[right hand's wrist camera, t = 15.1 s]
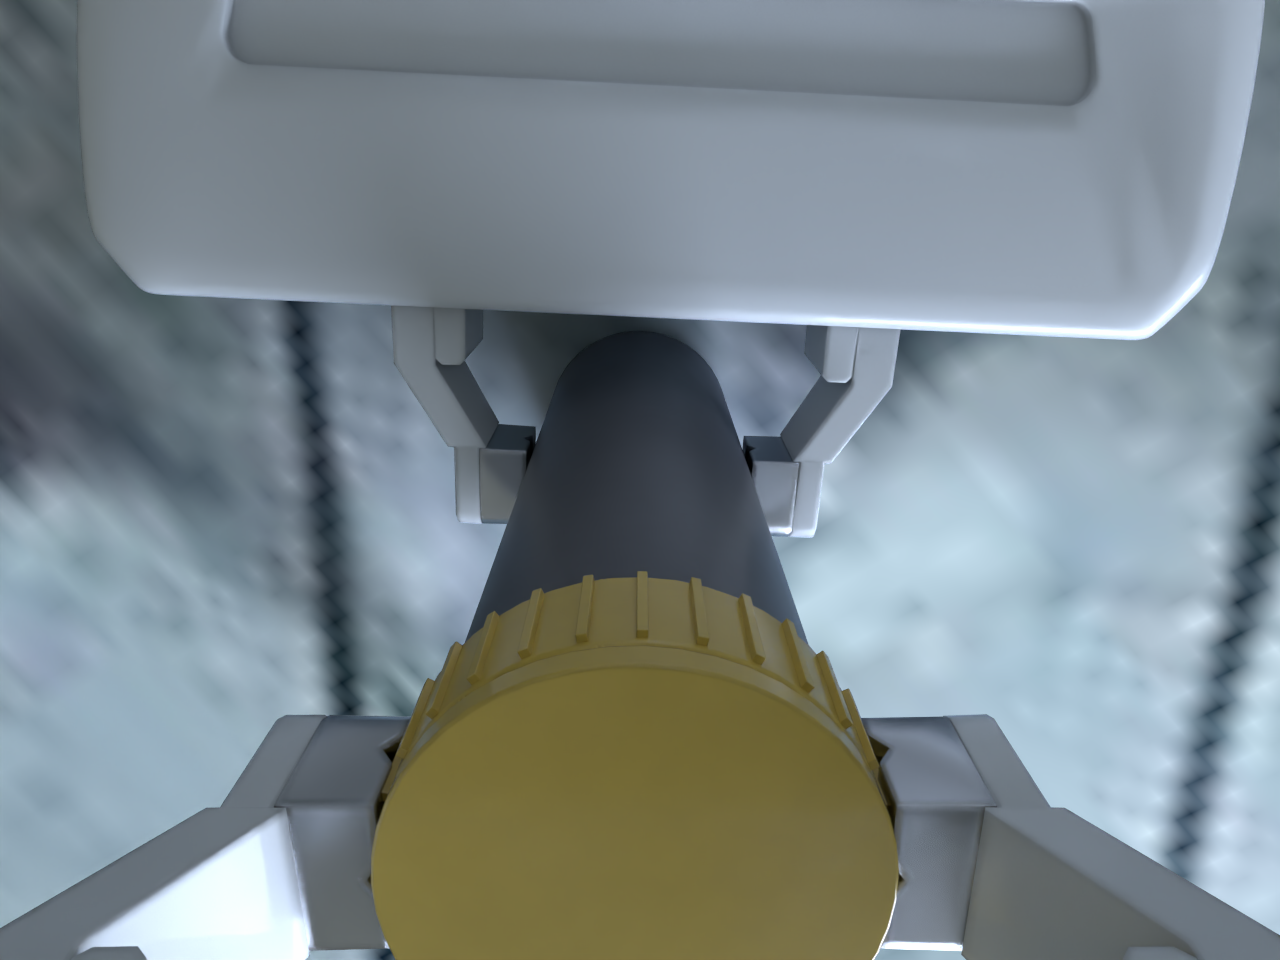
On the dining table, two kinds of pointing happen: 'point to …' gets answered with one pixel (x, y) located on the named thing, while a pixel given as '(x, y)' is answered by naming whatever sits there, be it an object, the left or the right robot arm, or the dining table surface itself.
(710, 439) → the jar
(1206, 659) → the dining table surface
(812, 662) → the lid
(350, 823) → the right robot arm
